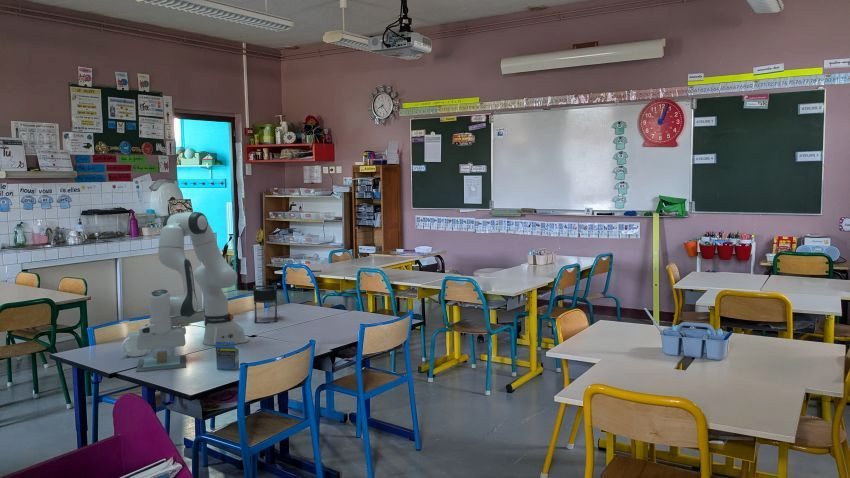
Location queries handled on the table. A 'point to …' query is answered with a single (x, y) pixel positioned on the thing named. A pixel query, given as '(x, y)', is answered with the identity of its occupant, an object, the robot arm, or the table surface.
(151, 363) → the lid
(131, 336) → the mug
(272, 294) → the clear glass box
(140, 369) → the mat
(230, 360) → the label tape cartridge
